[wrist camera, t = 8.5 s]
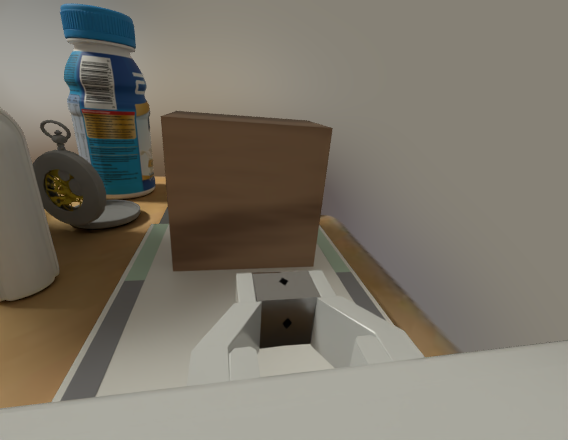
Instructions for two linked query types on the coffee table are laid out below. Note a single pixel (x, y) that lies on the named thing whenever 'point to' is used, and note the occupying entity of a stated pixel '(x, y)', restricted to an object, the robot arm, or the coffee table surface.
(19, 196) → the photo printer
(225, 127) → the walnut block
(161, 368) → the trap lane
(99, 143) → the beverage bottle
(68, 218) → the pocket watch
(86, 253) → the coffee table surface
